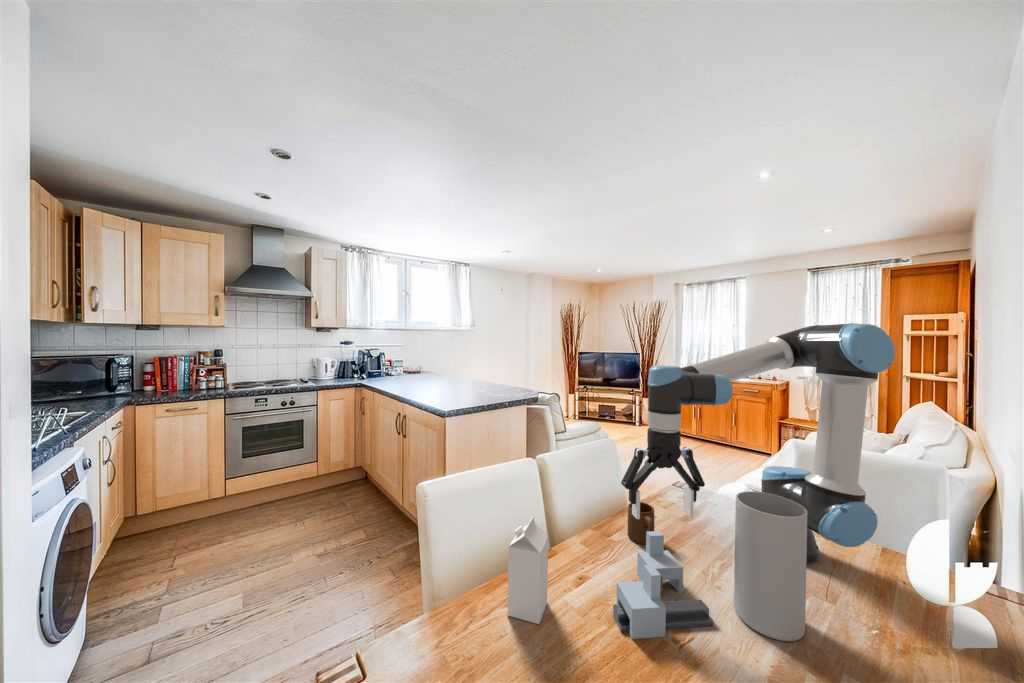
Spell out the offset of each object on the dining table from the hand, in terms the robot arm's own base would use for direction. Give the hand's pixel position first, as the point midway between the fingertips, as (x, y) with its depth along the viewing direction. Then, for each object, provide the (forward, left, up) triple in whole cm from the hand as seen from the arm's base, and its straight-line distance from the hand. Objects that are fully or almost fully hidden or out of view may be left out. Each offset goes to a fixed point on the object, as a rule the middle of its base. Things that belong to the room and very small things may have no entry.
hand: (662, 515), depth 89 cm
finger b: (0, 0, -17) cm, 17 cm away
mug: (-4, -18, -17) cm, 25 cm away
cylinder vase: (-17, +13, -17) cm, 27 cm away
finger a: (+11, +11, -17) cm, 23 cm away
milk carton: (+34, +6, -17) cm, 38 cm away
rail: (+6, +11, -17) cm, 21 cm away
